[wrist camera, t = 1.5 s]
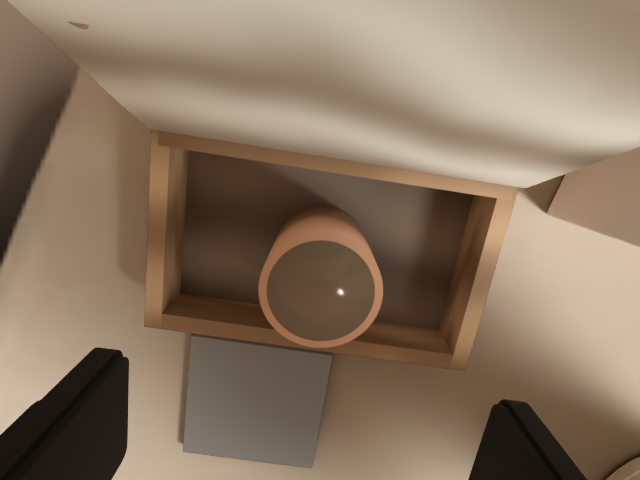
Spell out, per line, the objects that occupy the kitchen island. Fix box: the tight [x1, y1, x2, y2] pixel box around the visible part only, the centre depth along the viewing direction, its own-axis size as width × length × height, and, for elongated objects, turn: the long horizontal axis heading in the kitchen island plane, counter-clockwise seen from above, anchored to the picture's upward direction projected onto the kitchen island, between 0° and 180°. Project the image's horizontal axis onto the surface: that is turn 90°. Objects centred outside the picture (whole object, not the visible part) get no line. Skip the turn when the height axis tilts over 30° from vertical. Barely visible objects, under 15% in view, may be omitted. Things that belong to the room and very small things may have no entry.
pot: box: [258, 205, 383, 348], centre depth 22 cm, size 6×6×7 cm
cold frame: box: [7, 0, 640, 371], centre depth 17 cm, size 16×20×16 cm
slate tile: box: [183, 333, 333, 468], centre depth 28 cm, size 10×10×1 cm
